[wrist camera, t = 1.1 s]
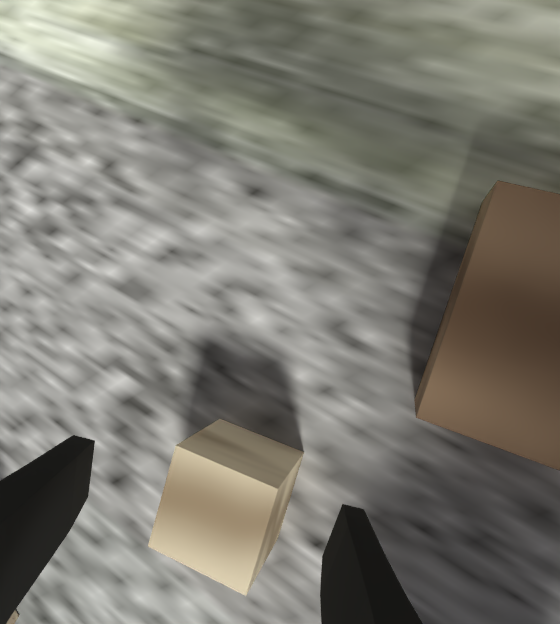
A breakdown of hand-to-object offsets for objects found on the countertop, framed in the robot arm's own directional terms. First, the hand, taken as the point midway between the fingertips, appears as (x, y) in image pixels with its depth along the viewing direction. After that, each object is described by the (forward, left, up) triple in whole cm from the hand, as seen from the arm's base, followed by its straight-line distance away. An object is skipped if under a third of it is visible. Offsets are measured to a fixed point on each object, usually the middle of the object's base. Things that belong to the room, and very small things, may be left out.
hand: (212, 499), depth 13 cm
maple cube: (-5, +2, -11) cm, 12 cm away
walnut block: (+7, -10, -12) cm, 17 cm away
